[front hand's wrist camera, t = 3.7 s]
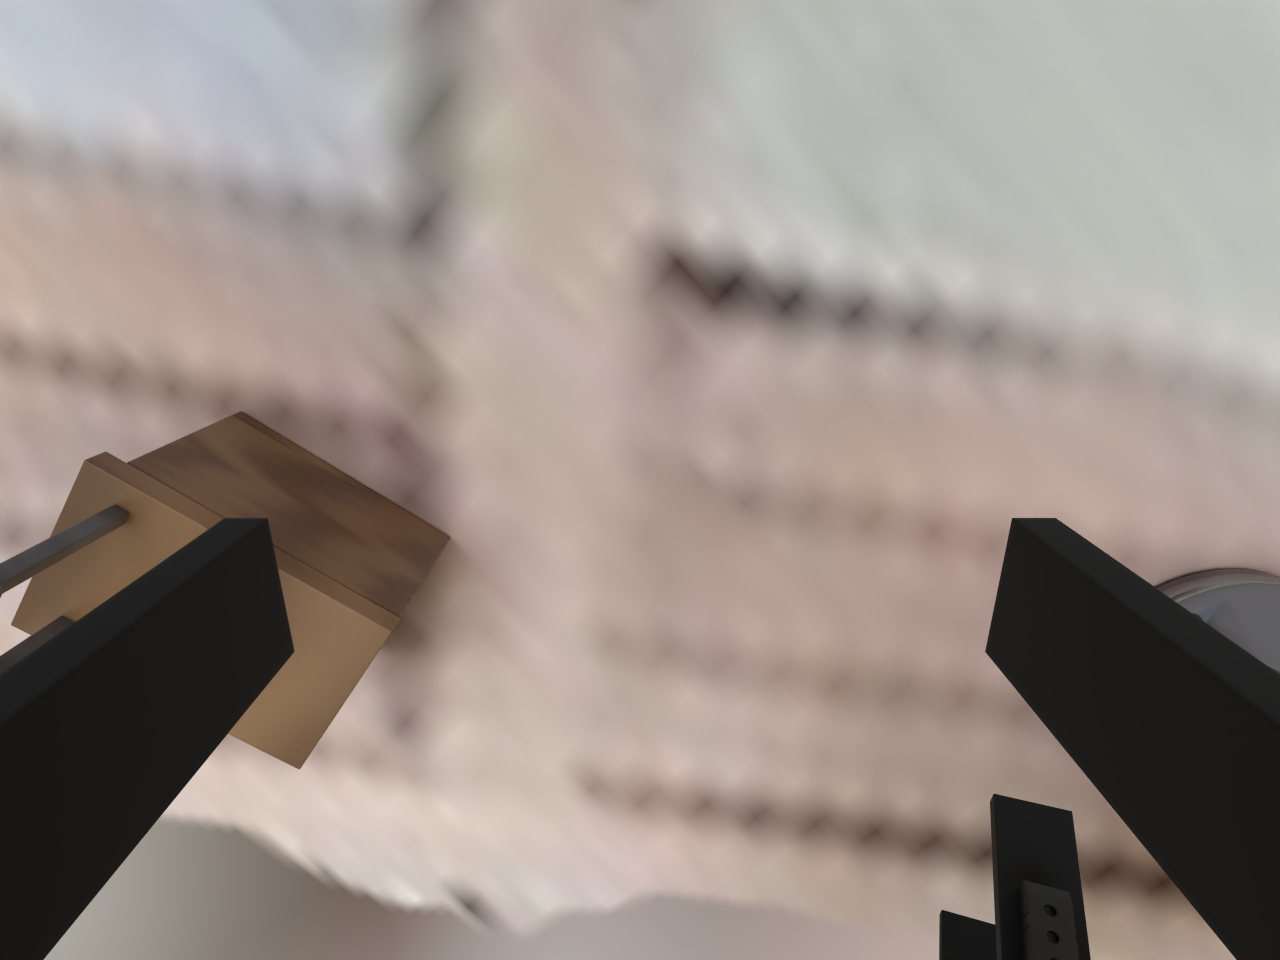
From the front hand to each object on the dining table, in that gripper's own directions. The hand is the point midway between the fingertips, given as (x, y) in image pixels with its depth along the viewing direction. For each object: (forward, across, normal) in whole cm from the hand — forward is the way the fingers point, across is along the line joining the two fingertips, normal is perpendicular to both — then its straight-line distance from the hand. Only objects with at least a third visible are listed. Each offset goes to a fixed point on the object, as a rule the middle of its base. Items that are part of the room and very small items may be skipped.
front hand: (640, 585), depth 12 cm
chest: (+25, -19, -11) cm, 34 cm away
